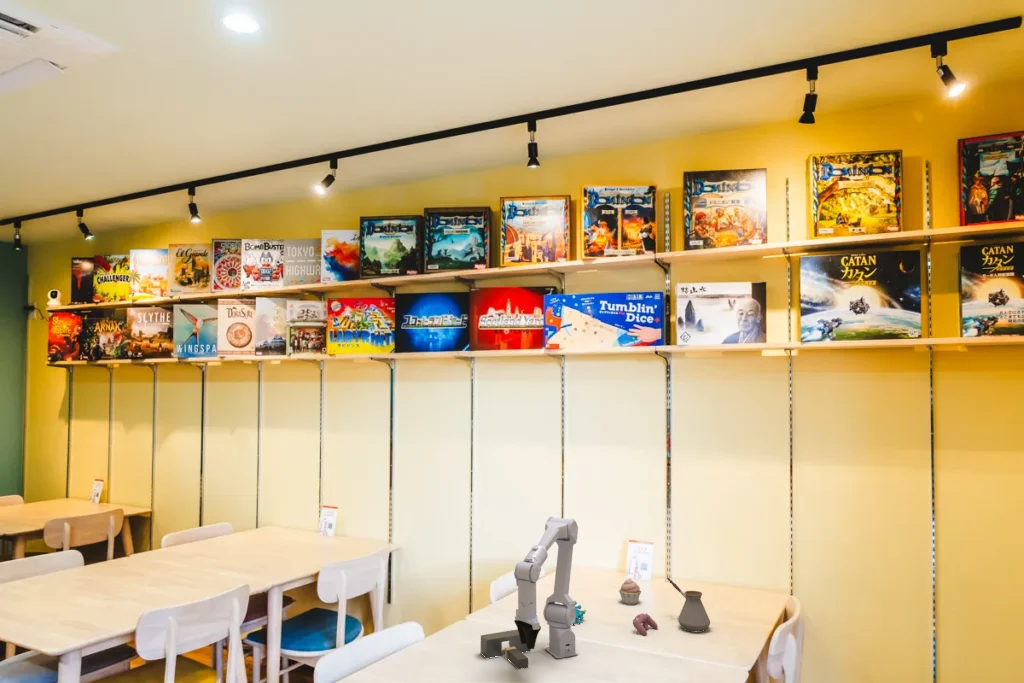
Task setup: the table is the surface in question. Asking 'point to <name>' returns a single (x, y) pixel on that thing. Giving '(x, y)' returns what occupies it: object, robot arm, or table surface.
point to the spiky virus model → (578, 613)
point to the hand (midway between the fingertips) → (527, 646)
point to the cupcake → (630, 592)
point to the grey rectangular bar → (516, 657)
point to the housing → (500, 643)
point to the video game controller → (644, 623)
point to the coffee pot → (692, 611)
